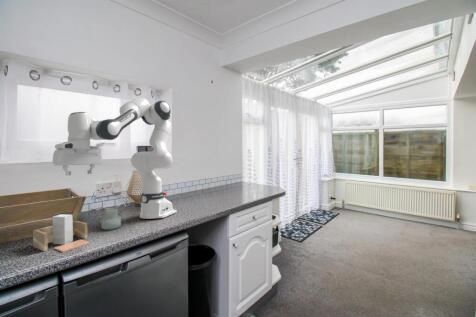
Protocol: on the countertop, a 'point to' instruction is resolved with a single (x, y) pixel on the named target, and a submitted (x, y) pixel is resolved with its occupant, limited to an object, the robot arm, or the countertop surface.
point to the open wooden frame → (46, 235)
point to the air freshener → (111, 219)
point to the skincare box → (62, 229)
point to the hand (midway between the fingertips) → (79, 174)
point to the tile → (71, 245)
